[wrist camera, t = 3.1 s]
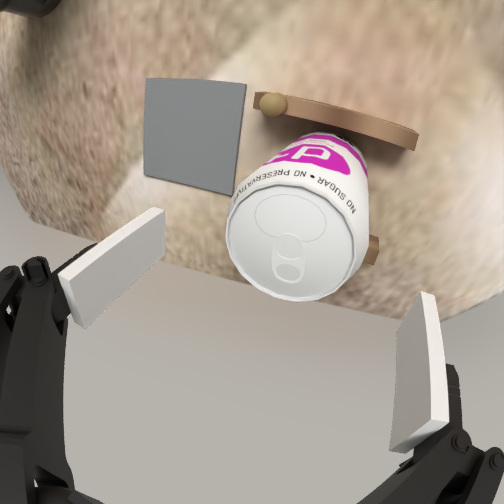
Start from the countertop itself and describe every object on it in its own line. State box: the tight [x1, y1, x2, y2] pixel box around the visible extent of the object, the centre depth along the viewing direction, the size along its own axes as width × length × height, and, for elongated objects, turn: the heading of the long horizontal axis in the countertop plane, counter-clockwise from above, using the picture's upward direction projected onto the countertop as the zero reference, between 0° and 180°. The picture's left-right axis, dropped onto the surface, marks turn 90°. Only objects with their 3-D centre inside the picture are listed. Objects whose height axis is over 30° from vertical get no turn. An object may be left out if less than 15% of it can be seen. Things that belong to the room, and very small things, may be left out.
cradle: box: [253, 92, 419, 265], centre depth 25 cm, size 14×13×4 cm
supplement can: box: [225, 131, 369, 302], centre depth 21 cm, size 8×8×15 cm
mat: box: [144, 78, 247, 196], centre depth 30 cm, size 12×12×1 cm
